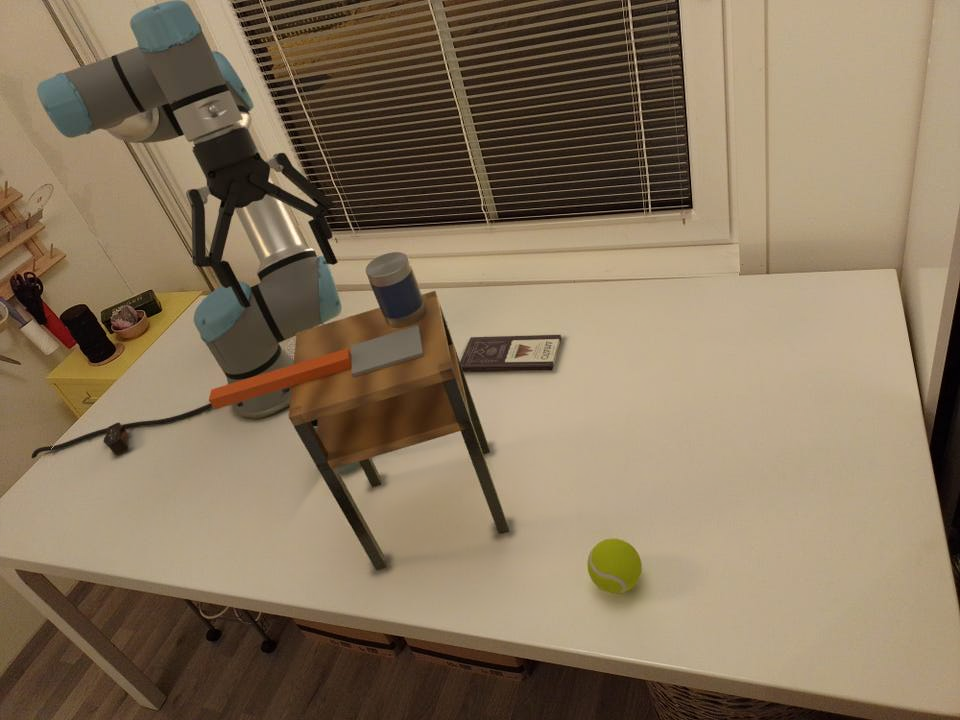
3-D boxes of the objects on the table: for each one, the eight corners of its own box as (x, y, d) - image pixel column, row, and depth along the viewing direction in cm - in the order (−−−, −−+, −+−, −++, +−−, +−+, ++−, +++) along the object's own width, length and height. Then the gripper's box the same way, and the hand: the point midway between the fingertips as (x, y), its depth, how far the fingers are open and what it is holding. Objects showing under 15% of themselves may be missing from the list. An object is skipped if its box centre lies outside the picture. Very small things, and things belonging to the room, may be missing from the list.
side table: (376, 570, 101) (288, 417, 82) (371, 480, 115) (296, 332, 97) (509, 531, 101) (451, 368, 82) (488, 445, 115) (435, 290, 96)
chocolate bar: (470, 337, 138) (560, 334, 131) (471, 341, 138) (561, 338, 132) (457, 367, 131) (551, 366, 125) (459, 371, 132) (552, 370, 125)
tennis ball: (586, 599, 89) (577, 568, 85) (597, 555, 94) (590, 524, 90) (639, 609, 87) (632, 578, 83) (648, 563, 91) (643, 531, 87)
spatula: (212, 419, 86) (206, 410, 85) (219, 389, 90) (213, 380, 89) (424, 356, 85) (420, 345, 84) (419, 328, 90) (415, 318, 89)
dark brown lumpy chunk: (128, 430, 144) (119, 419, 142) (129, 450, 138) (120, 439, 136) (106, 441, 143) (97, 429, 141) (106, 461, 137) (96, 450, 135)
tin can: (386, 332, 91) (365, 281, 86) (384, 309, 96) (364, 259, 91) (428, 320, 91) (410, 268, 86) (424, 297, 95) (406, 246, 91)
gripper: (125, 170, 82) (212, 329, 91) (312, 98, 92) (376, 247, 100) (119, 172, 88) (201, 321, 97) (295, 104, 98) (356, 245, 106)
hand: (290, 284), depth 99 cm, fingers open, 13 cm apart
